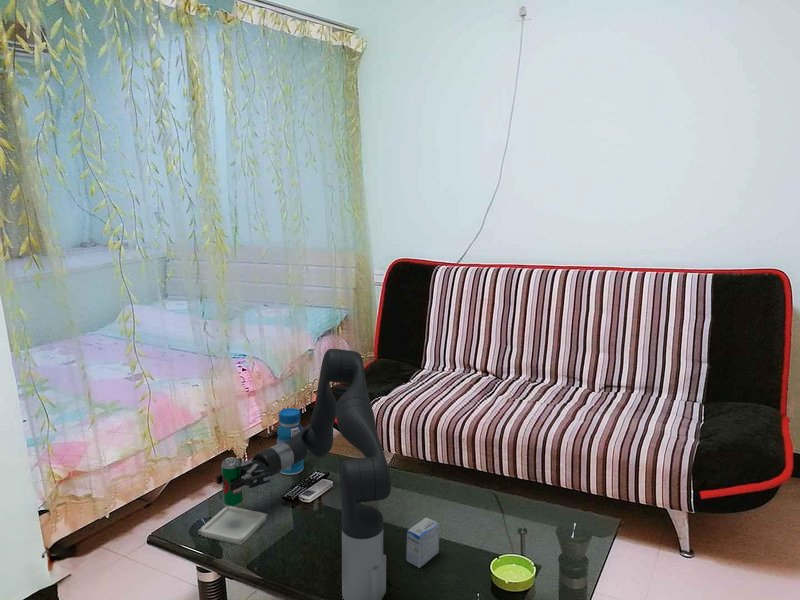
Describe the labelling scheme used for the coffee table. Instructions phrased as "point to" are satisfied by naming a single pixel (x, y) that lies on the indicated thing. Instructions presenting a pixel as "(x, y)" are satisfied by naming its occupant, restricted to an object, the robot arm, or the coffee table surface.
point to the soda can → (230, 474)
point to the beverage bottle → (289, 434)
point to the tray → (233, 525)
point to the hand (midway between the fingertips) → (223, 483)
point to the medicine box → (422, 542)
